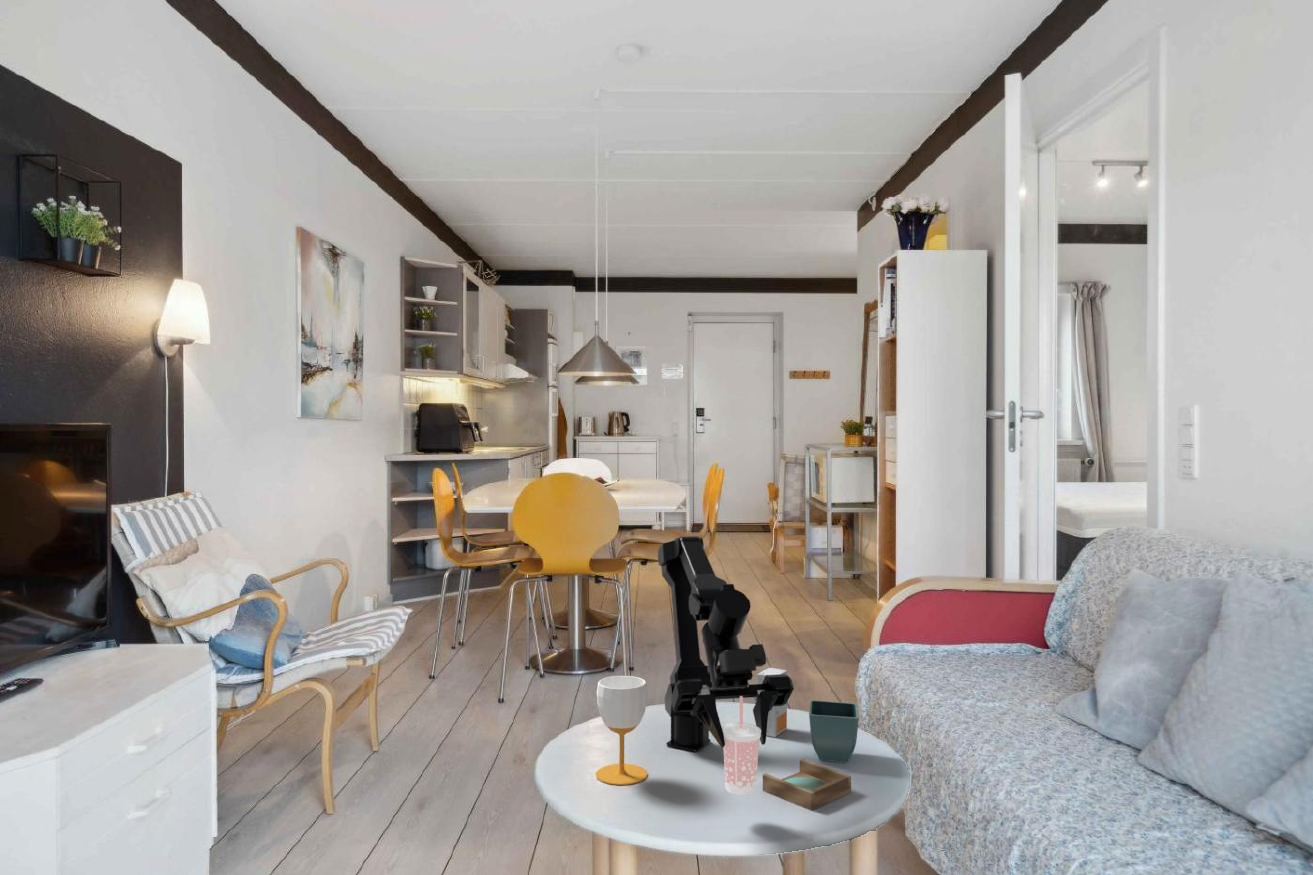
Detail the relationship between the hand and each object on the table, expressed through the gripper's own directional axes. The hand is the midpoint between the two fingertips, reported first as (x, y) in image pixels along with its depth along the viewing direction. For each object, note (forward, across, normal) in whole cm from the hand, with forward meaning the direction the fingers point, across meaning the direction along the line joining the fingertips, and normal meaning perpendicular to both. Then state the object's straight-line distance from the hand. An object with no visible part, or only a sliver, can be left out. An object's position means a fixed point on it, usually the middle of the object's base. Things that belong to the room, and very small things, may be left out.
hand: (743, 744), depth 123 cm
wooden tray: (+2, +14, +15) cm, 21 cm away
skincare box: (-18, +18, +36) cm, 44 cm away
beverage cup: (+4, 0, +6) cm, 7 cm away
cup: (-7, -15, +24) cm, 29 cm away
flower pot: (-7, +25, +25) cm, 36 cm away
